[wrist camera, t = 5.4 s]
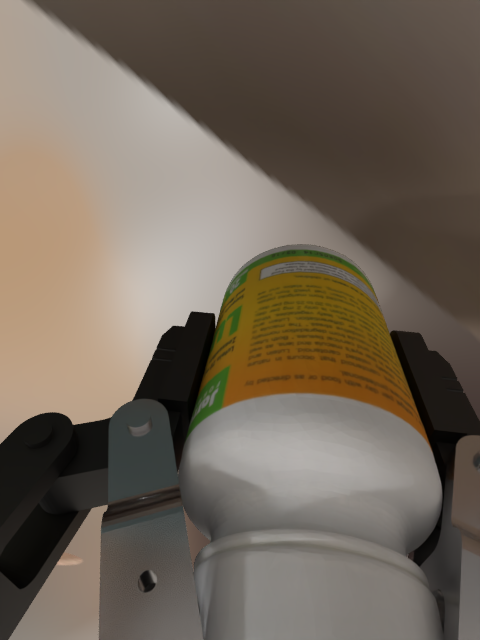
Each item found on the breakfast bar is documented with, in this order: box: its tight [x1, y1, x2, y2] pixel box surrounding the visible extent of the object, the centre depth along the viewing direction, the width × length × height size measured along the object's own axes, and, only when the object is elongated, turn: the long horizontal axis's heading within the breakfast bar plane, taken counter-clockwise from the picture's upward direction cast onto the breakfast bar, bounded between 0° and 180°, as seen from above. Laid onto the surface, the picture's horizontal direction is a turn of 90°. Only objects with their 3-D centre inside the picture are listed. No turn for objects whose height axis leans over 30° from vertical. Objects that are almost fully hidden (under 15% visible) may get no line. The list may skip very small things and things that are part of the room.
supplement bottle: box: [178, 244, 444, 640], centre depth 9 cm, size 5×5×10 cm
